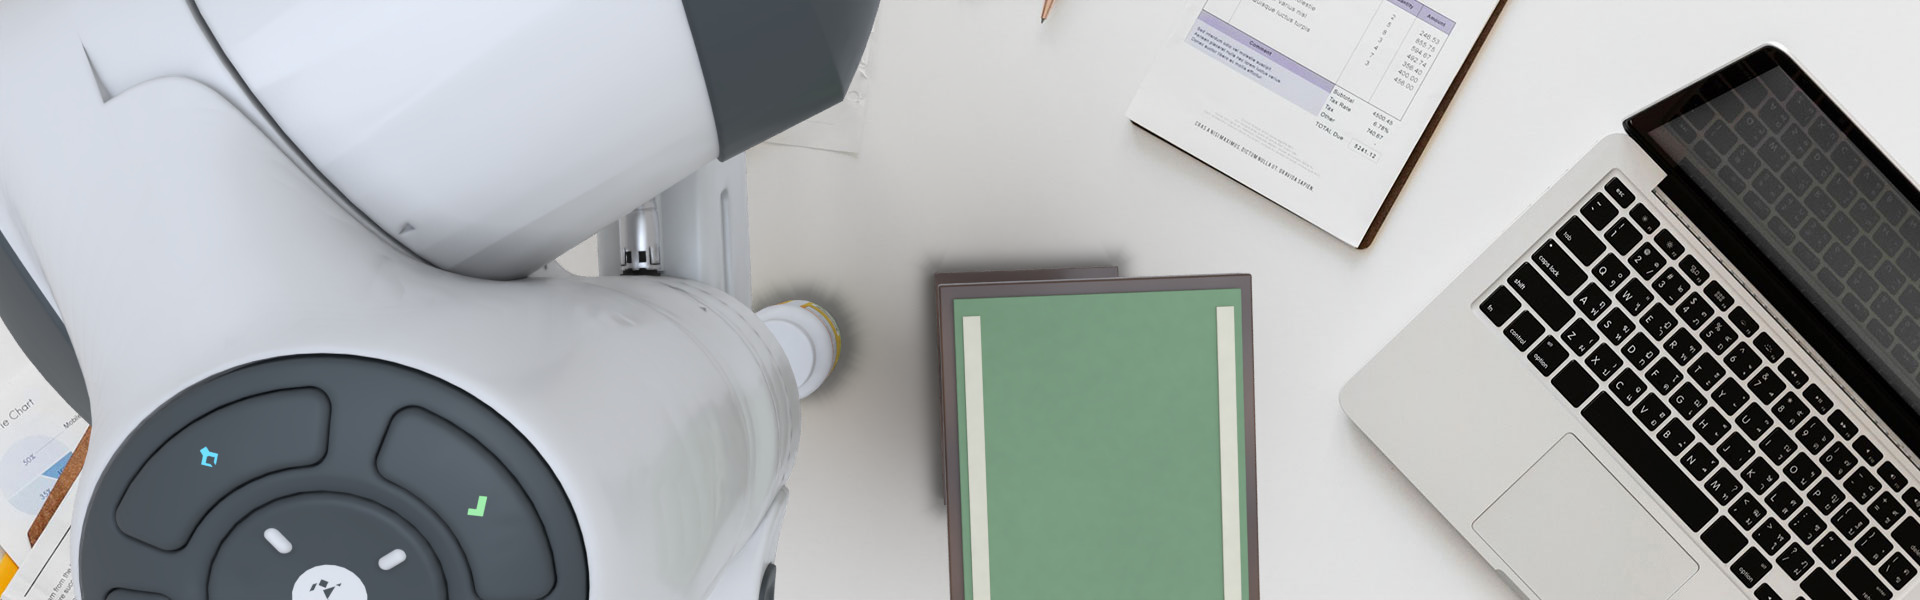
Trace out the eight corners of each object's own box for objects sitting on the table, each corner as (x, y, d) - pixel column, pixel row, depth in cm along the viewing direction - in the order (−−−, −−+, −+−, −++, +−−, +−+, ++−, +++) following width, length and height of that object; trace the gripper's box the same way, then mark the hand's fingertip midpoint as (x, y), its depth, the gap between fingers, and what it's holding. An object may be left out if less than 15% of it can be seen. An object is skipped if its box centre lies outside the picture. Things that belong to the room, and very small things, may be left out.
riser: (934, 272, 65) (938, 285, 37) (1113, 266, 65) (1252, 273, 37) (943, 499, 65) (953, 681, 37) (1120, 491, 65) (1262, 667, 38)
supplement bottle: (748, 379, 65) (715, 401, 55) (761, 292, 64) (730, 299, 55) (835, 393, 65) (818, 417, 55) (848, 306, 65) (834, 315, 55)
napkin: (953, 299, 37) (953, 299, 36) (1238, 288, 37) (1242, 288, 37) (967, 667, 37) (967, 671, 37) (1248, 654, 37) (1251, 658, 37)
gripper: (515, 70, 30) (648, 131, 44) (550, 771, 31) (670, 615, 45) (735, 63, 30) (799, 126, 44) (766, 762, 31) (819, 609, 45)
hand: (734, 376), depth 45 cm, fingers open, 8 cm apart
